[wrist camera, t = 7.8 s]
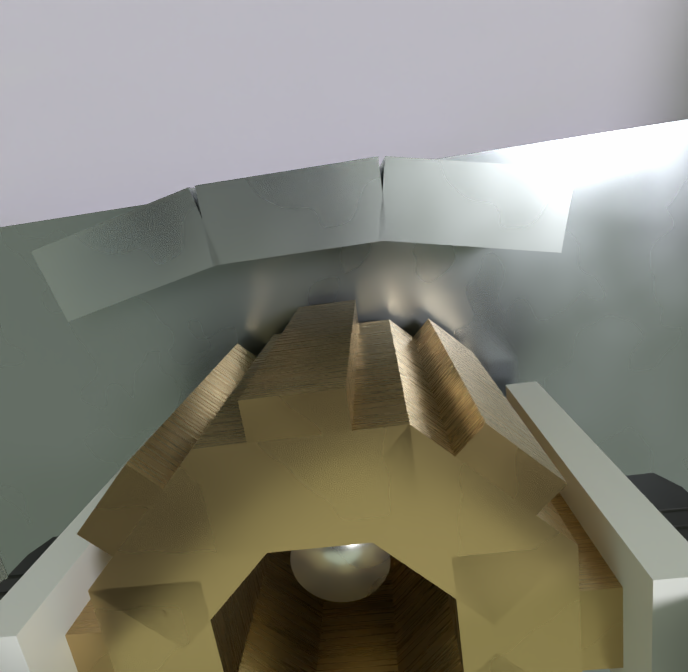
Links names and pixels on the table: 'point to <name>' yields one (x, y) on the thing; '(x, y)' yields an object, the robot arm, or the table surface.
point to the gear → (345, 520)
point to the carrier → (371, 301)
